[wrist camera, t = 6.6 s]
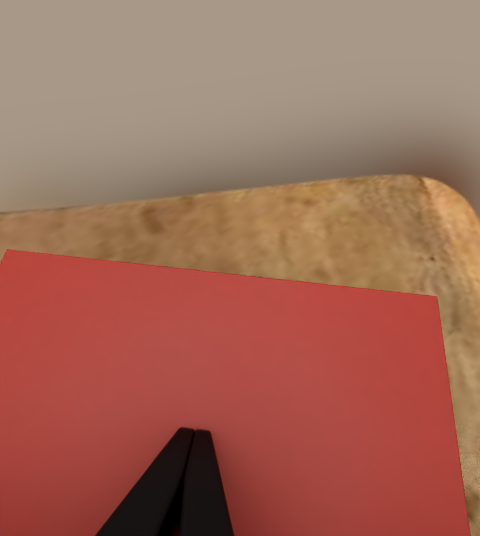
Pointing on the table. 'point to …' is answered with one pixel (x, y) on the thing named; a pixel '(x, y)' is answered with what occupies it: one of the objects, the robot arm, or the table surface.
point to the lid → (223, 398)
